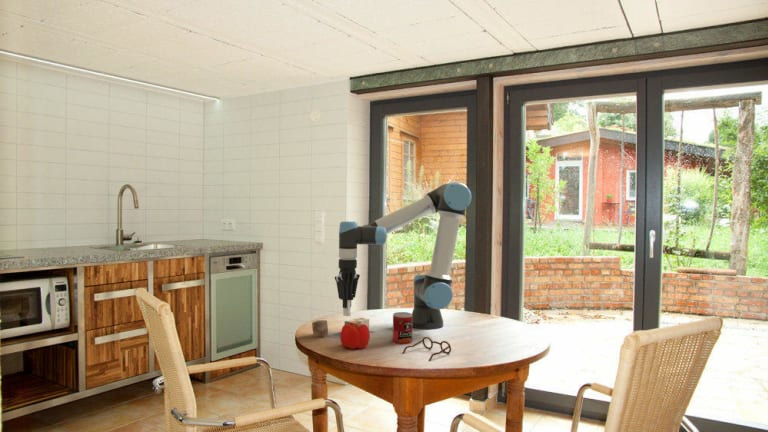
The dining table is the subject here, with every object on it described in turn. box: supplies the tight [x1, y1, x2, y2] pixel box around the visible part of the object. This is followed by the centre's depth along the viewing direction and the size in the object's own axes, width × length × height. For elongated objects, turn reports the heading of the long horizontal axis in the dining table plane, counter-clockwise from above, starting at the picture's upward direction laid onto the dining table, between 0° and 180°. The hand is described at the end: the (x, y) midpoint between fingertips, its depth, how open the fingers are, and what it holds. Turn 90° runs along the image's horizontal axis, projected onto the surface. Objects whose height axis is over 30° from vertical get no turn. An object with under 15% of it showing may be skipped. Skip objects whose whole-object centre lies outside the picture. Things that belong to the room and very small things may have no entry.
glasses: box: [401, 336, 452, 362], centre depth 188 cm, size 13×13×5 cm
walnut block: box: [311, 319, 329, 338], centre depth 211 cm, size 4×4×6 cm
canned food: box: [392, 311, 413, 345], centre depth 205 cm, size 8×8×11 cm
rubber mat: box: [326, 330, 375, 340], centre depth 215 cm, size 11×19×1 cm, turn 141°
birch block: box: [343, 317, 370, 330], centre depth 218 cm, size 5×5×10 cm
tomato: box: [339, 322, 371, 350], centre depth 195 cm, size 11×12×9 cm
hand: (346, 315), depth 213 cm, fingers closed
